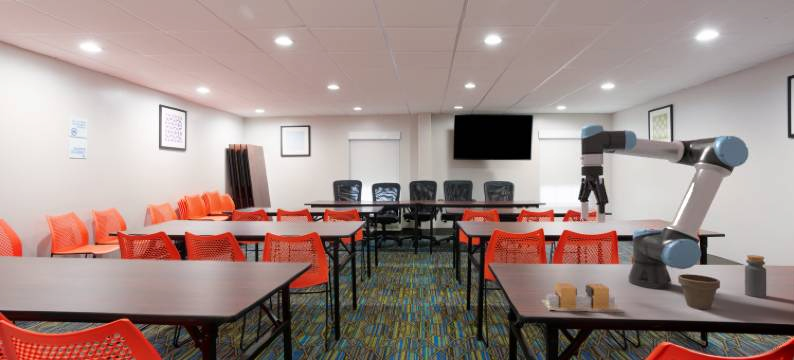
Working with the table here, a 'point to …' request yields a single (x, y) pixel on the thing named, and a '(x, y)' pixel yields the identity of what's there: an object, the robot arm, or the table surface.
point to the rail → (586, 300)
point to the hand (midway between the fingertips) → (592, 220)
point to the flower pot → (699, 290)
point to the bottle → (755, 277)
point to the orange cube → (566, 294)
